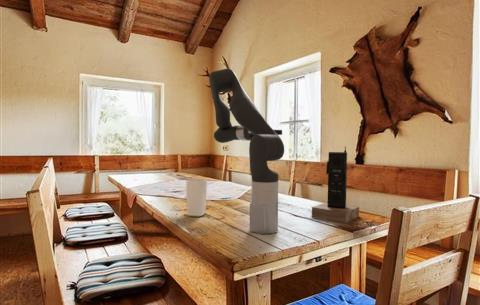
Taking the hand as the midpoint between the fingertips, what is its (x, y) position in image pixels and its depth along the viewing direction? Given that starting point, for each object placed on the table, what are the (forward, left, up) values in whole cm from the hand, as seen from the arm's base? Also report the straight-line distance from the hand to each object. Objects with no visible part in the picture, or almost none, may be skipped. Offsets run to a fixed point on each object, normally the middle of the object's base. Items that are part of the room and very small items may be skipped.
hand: (276, 132), depth 130 cm
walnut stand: (+10, -23, -35) cm, 43 cm away
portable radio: (+11, -23, -31) cm, 40 cm away
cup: (-28, +20, -35) cm, 49 cm away
